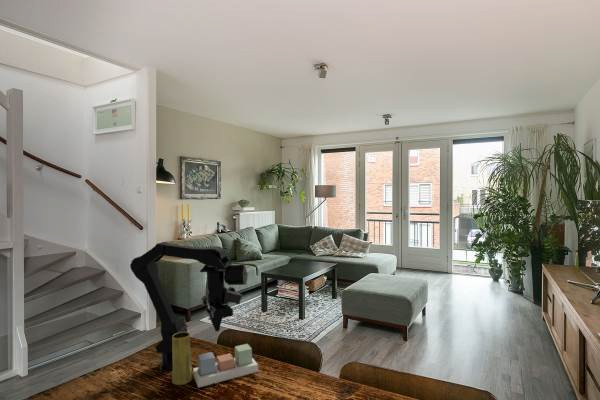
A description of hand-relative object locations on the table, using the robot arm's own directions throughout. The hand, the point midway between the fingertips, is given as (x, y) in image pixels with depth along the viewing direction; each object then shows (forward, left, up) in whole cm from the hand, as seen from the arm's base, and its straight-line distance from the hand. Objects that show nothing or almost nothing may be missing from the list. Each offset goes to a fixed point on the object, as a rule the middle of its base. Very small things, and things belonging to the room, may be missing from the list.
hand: (217, 331), depth 117 cm
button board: (+6, +1, -12) cm, 13 cm away
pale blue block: (+6, -5, -10) cm, 13 cm away
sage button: (+6, +7, -10) cm, 14 cm away
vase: (+3, -12, -12) cm, 17 cm away
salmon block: (+6, +1, -12) cm, 13 cm away
